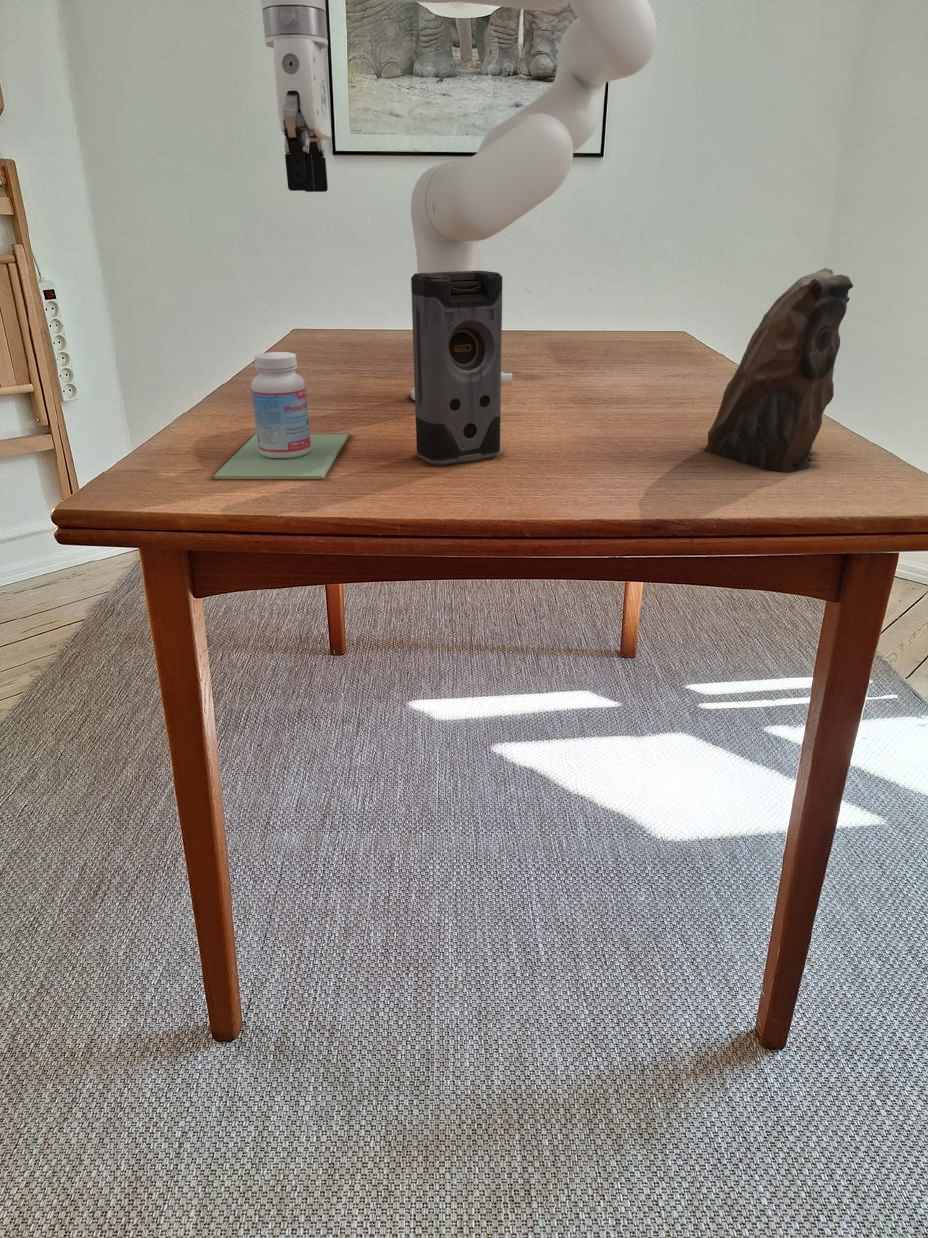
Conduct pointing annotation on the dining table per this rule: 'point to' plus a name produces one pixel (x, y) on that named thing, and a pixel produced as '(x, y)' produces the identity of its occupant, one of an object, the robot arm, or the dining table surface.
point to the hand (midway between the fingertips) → (309, 190)
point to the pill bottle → (280, 407)
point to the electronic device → (457, 365)
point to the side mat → (284, 461)
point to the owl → (784, 378)
